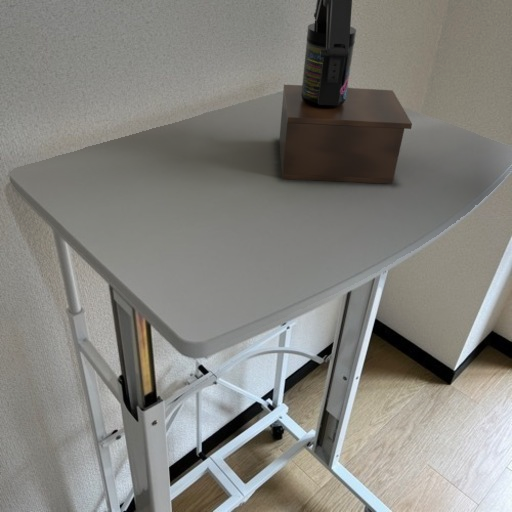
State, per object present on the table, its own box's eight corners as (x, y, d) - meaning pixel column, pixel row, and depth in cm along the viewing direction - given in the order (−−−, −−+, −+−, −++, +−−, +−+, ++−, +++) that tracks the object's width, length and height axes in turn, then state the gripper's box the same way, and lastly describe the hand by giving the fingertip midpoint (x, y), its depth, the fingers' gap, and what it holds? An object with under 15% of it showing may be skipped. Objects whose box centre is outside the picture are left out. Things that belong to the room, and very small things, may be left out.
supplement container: (339, 113, 79) (350, 37, 73) (294, 104, 80) (301, 30, 74) (349, 98, 84) (360, 26, 78) (307, 90, 86) (315, 20, 80)
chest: (376, 145, 94) (386, 94, 89) (392, 183, 83) (404, 128, 78) (279, 140, 93) (283, 89, 88) (282, 178, 82) (287, 123, 77)
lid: (391, 95, 89) (392, 90, 88) (410, 129, 78) (412, 123, 77) (283, 89, 88) (283, 84, 88) (287, 122, 77) (287, 117, 77)
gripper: (306, -91, 78) (293, 60, 91) (323, -73, 58) (303, 118, 71) (358, -88, 79) (338, 62, 91) (393, -69, 58) (361, 121, 71)
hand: (322, 87), depth 81 cm, fingers open, 13 cm apart
